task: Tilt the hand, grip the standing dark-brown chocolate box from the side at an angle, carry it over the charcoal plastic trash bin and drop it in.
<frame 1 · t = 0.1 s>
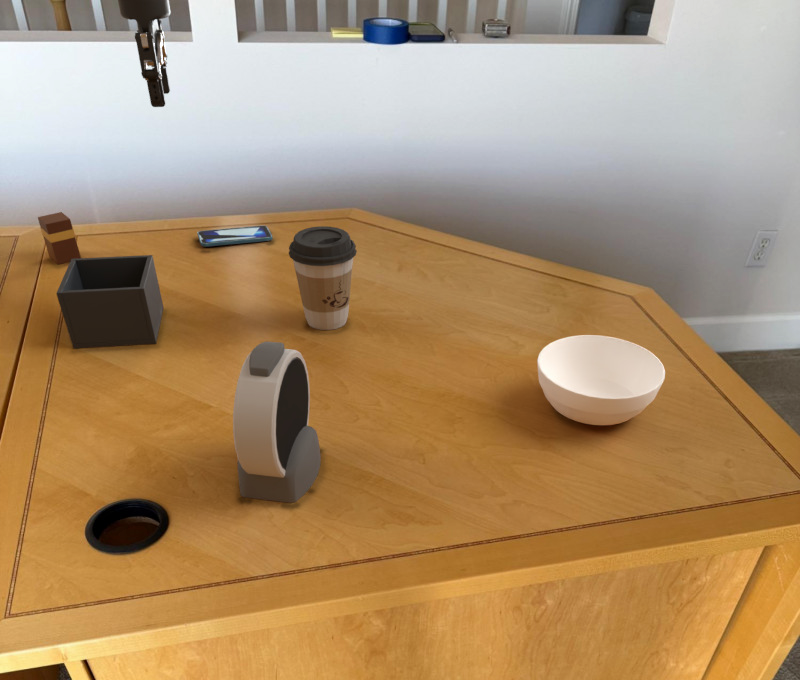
hand: (161, 99, 127), 32 cm above the table, tool pointing down, fingers open, 8 cm apart
chocolate box: (65, 257, 157), on the table
coffee cup: (327, 321, 137), on the table
alarm clock: (281, 472, 105), on the table
trash bin: (120, 327, 135), on the table
smartphone: (235, 239, 165), on the table
bowl: (591, 408, 117), on the table
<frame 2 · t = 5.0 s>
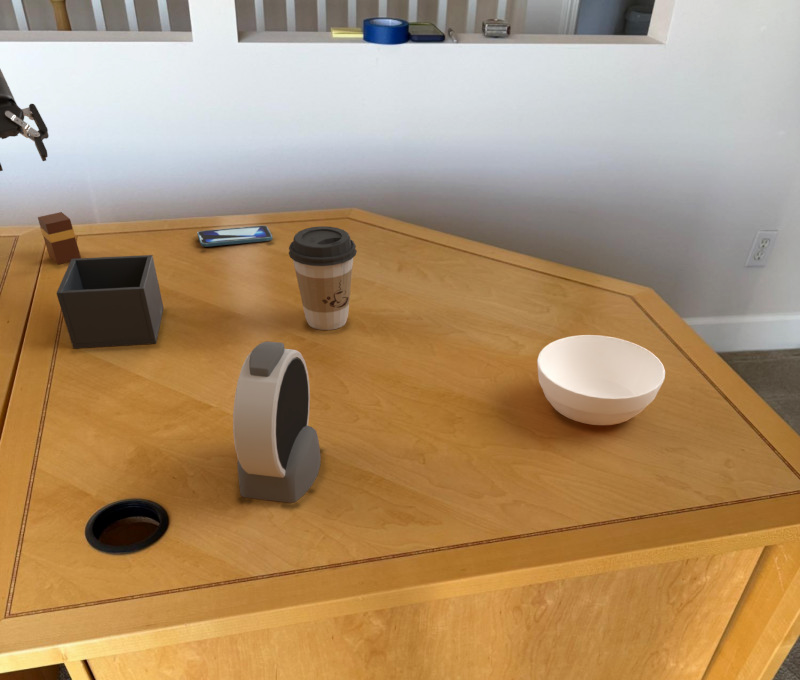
hand: (22, 164, 153), 15 cm above the table, tool tilted 45°, fingers open, 8 cm apart
nothing on the table moved.
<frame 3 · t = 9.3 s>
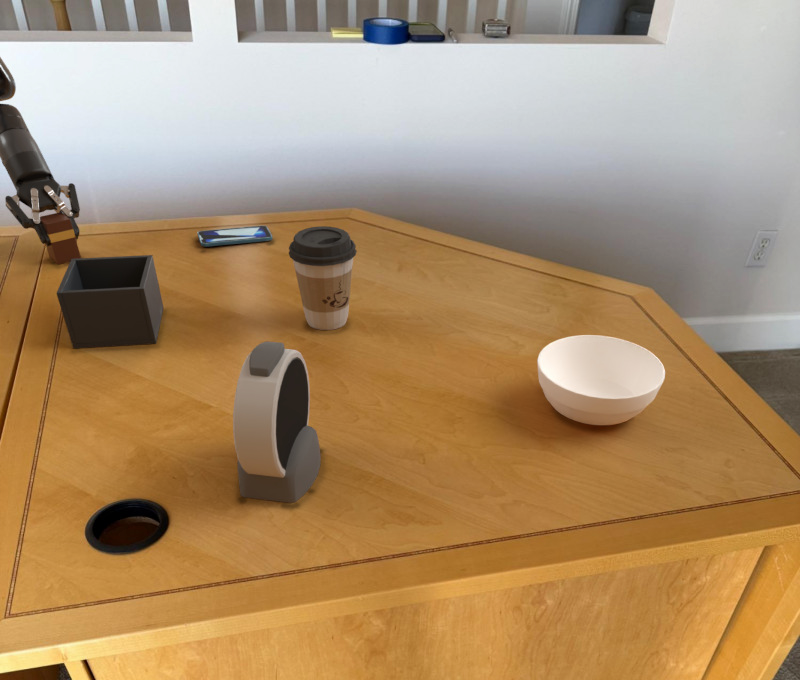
hand: (62, 240, 153), 4 cm above the table, tool tilted 45°, fingers closed on chocolate box, 5 cm apart
chocolate box: (65, 257, 157), on the table, touching gripper
everything else where it was.
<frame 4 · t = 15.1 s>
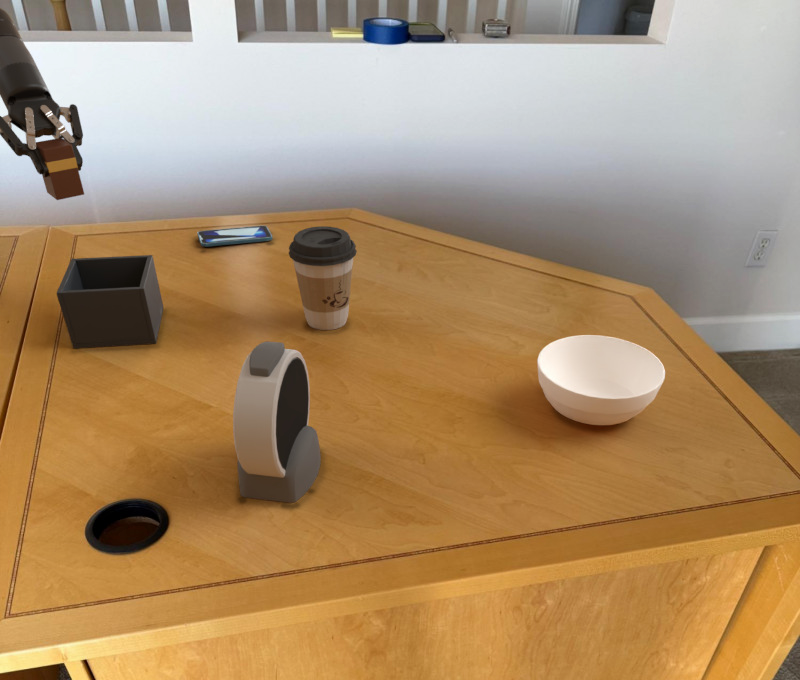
hand: (63, 170, 129), 22 cm above the table, tool tilted 45°, fingers closed on chocolate box, 5 cm apart
chocolate box: (65, 193, 133), point 18 cm above the table, touching gripper
everything else where it was.
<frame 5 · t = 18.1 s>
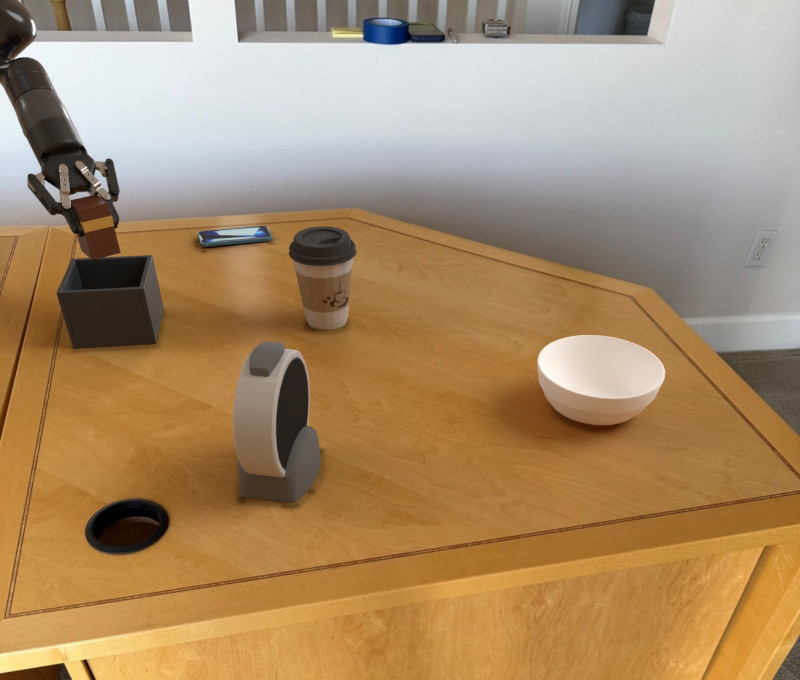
hand: (98, 229, 122), 18 cm above the table, tool tilted 45°, fingers closed on chocolate box, 5 cm apart
chocolate box: (101, 252, 126), point 13 cm above the table, touching gripper
everything else where it was.
when the fingers open (8 cm above the table, at t = 20.9 s): chocolate box drops 3 cm, resting on trash bin.
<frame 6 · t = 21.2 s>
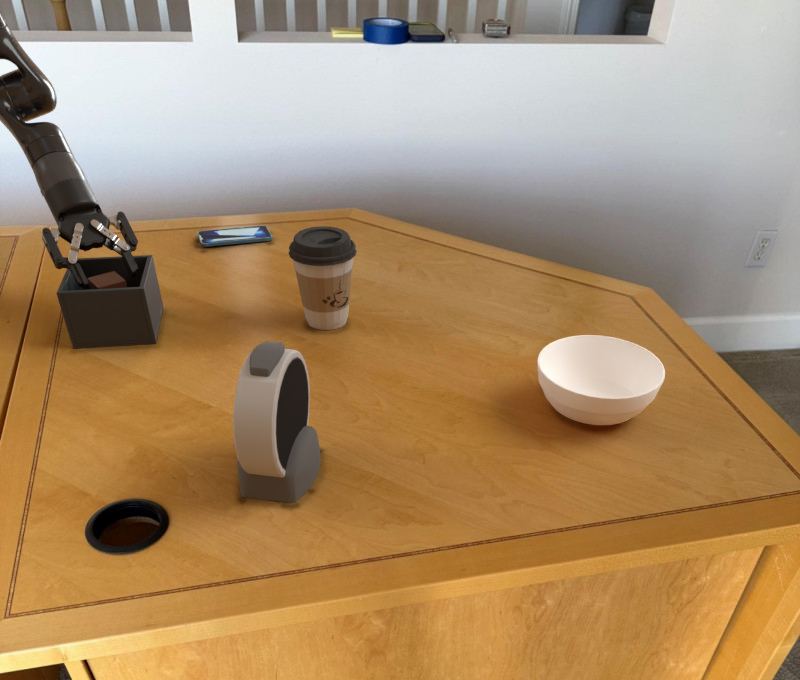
hand: (110, 281, 128), 9 cm above the table, tool tilted 45°, fingers open, 7 cm apart
chocolate box: (117, 323, 134), point 1 cm above the table, touching trash bin
everything else where it was.
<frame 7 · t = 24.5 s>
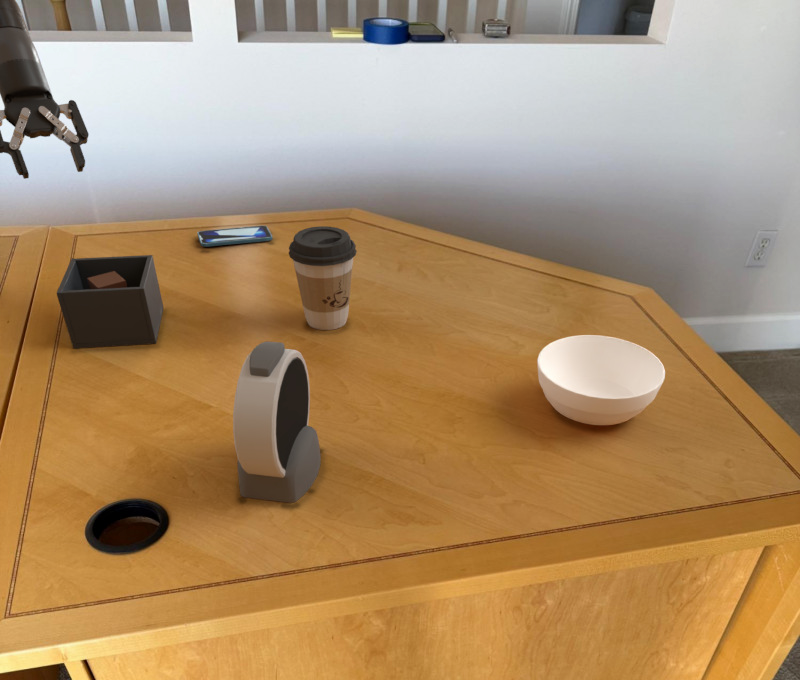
hand: (54, 173, 125), 23 cm above the table, tool tilted 35°, fingers open, 8 cm apart
nothing on the table moved.
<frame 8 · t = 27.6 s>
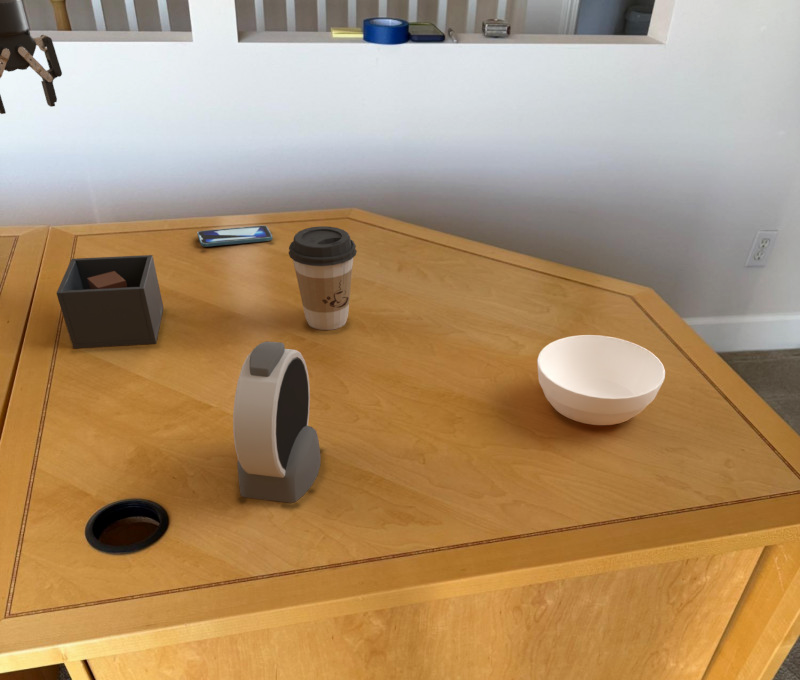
hand: (27, 109, 135), 28 cm above the table, tool pointing down, fingers open, 8 cm apart
nothing on the table moved.
at the end: chocolate box inside the target area in the trash bin (0.3 cm from its centre), point 0.8 cm above the trash bin's base; the gripper is holding nothing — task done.
